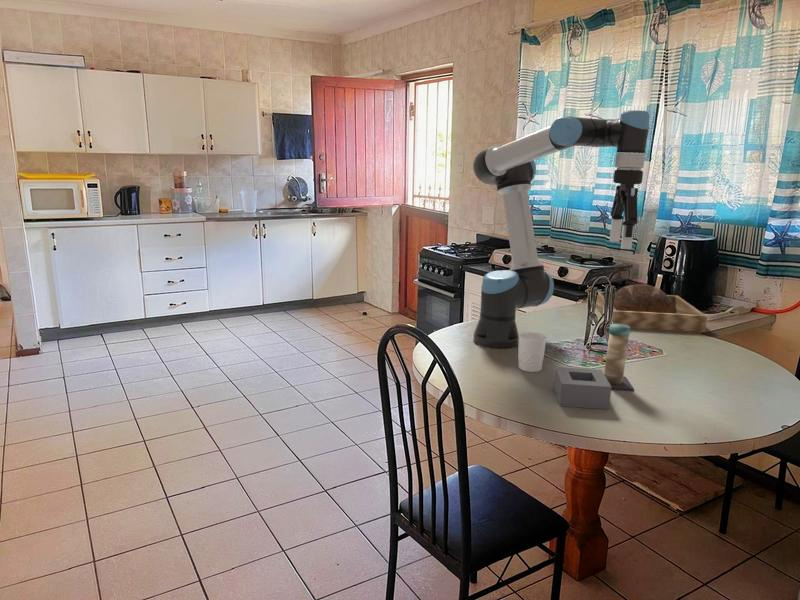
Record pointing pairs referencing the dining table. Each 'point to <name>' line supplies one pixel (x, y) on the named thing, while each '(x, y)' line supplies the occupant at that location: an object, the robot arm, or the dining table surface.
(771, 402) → the dining table surface
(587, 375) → the socket
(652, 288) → the bread
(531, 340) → the white cup
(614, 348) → the plug
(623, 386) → the mat
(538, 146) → the robot arm
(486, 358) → the dining table surface
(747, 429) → the dining table surface
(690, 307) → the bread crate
